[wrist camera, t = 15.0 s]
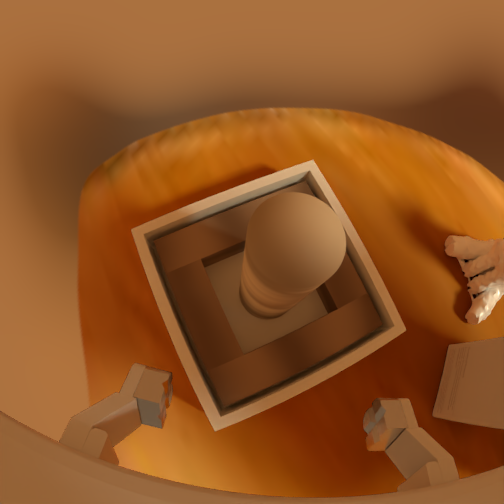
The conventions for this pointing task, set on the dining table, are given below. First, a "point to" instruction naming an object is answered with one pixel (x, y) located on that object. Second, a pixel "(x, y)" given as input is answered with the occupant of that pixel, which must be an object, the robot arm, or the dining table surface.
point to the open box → (241, 321)
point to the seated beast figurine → (480, 272)
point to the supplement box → (473, 384)
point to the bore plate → (215, 321)
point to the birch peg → (289, 252)
